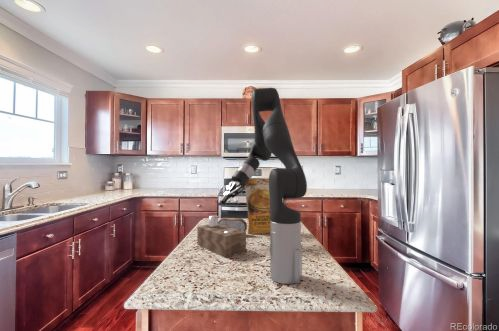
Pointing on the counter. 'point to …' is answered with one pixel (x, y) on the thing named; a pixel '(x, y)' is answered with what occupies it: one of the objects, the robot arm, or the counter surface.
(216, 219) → the peg
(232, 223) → the tin
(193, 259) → the counter surface
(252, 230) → the pancake mix bag
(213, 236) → the collar block
